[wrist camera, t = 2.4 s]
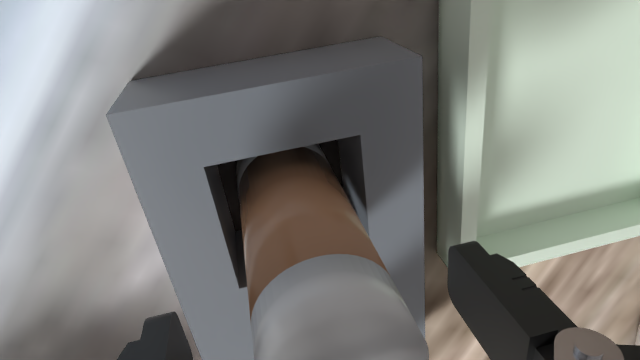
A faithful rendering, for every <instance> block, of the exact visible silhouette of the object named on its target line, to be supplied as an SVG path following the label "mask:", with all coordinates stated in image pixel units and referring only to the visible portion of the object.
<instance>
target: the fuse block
mask: <svg viewBox="0 0 640 360" xmlns="http://www.w3.org/2000/svg"><path fill="white" fill-rule="evenodd" d="M106 117H107V119H108V122H109V124H110V127H111V129H112V132H113V134H114V137H115V139H116V142H117V145H118V147H119V150H120V152H121V155H122V157H123V160H124V162H125V165H126V167H127V170H128V173H129V175H130V178H131V180H132V183H133V185H134V188H135V190H136V193H137V195H138V198H139V201H140V203H141V206H142V208H143V211H144V213H145V216H146V218H147V221H148V223H149V226H150V229H151V231H152V234H153V236H154V239H155V241H156V244H157V246H158V249H159V251H160V254H161V257H162V259H163V262H164V264H165V267H166V269H167V272H168V274H169V277H170V279H171V282H172V285H173V287H174V290H175V292H176V295H177V297H178V300H179V302H180V305H181V307H182V310H183V313H184V315H185V318H186V320H187V323H188V325H189V328H190V330H191V333H192V335H193V338H194V341H195V343H196V346H197V348H198V351H199V353H200V356H201V358H202V360H254V353H253V342H252V332H251V321H250V311H249V300H248V289H247V279H246V268H245V258H244V247H243V236H242V230H240V231H236V232H235V229H234V225H233V221H232V218H231V214H230V210H229V207H228V203H227V200H226V196H225V192H224V189H223V185H222V181H221V178H220V174H219V170H218V167H217V164H221V163H226V162H231V161H236V160H241V159H246V158H250V157H255V156H260V155H265V154H270V153H275V152H279V151H284V150H289V149H294V148H299V147H304V146H308V145H313V144H318V143H323V142H328V141H333V140H338V148H339V156H340V165H341V174H342V182H343V190H344V192H345V194H346V196H347V197H348V199H349V201H350V203H351V205H352V207H353V208H354V210H355V212H356V214H357V216H358V218H359V219H360V221H361V223H362V225H363V227H364V229H365V230H366V232H367V234H368V236H369V238H370V240H371V241H372V243H373V245H374V247H375V249H376V251H377V252H378V254H379V256H380V258H381V260H382V262H383V264H384V265H385V267H386V269H387V271H388V273H389V275H390V276H391V278H392V280H393V282H394V284H395V286H396V287H397V289H398V291H399V293H400V295H401V297H402V298H403V300H404V302H405V304H406V306H407V308H408V309H409V311H410V313H411V315H412V317H413V319H414V320H415V322H416V324H417V326H418V328H419V330H420V331H421V333H422V335H423V337H424V339H425V279H424V176H423V73H422V56H421V55H419V54H417V53H415V52H413V51H411V50H409V49H407V48H404V47H402V46H400V45H398V44H396V43H394V42H392V41H390V40H388V39H386V38H384V37H382V36H380V37H374V38H369V39H363V40H357V41H352V42H346V43H341V44H335V45H329V46H324V47H318V48H312V49H307V50H301V51H295V52H290V53H284V54H279V55H273V56H267V57H262V58H256V59H250V60H245V61H239V62H234V63H228V64H222V65H217V66H211V67H205V68H200V69H194V70H188V71H183V72H177V73H172V74H166V75H160V76H155V77H149V78H143V79H138V80H132V81H129V83H128V84H127V85H126V87H125V88H124V90H123V91H122V93H121V94H120V95H119V97H118V98H117V100H116V101H115V103H114V104H113V106H112V107H111V108H110V110H109V111H108V113H107V114H106Z"/></svg>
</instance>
